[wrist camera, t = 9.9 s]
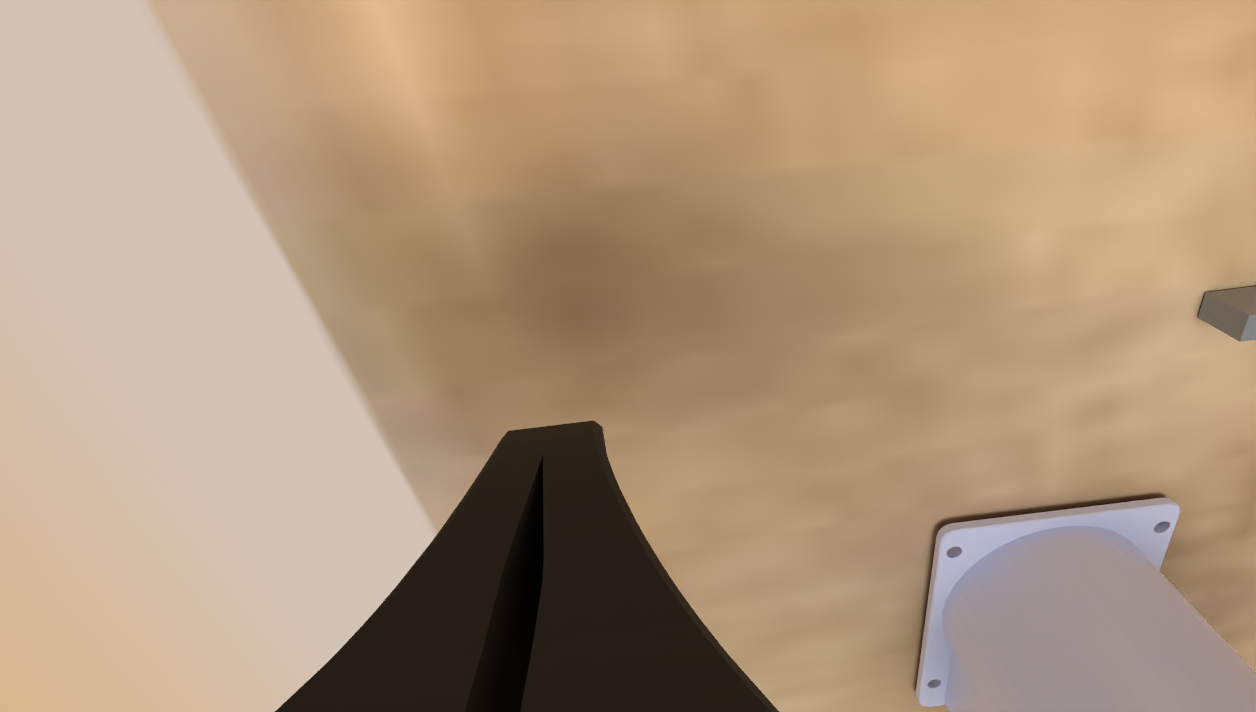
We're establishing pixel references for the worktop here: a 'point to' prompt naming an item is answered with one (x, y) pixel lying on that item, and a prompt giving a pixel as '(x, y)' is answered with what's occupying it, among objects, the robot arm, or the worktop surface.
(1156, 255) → the worktop surface
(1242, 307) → the grey u-shaped bracket
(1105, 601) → the robot arm
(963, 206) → the worktop surface
